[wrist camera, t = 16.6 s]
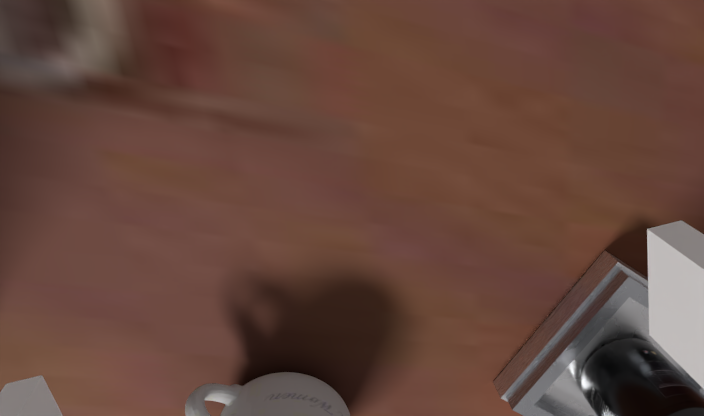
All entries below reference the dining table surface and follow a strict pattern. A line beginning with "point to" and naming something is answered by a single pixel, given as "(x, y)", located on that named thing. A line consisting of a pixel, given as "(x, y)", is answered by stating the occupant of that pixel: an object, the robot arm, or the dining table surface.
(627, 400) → the supplement bottle
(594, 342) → the shadow box frame
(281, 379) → the teacup
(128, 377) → the dining table surface
